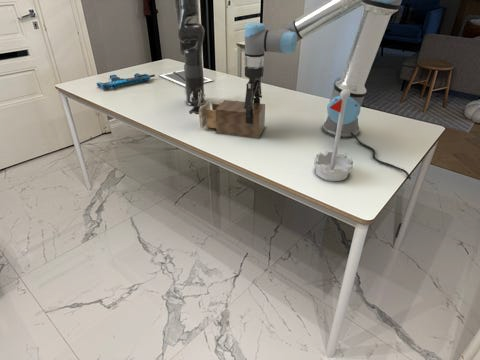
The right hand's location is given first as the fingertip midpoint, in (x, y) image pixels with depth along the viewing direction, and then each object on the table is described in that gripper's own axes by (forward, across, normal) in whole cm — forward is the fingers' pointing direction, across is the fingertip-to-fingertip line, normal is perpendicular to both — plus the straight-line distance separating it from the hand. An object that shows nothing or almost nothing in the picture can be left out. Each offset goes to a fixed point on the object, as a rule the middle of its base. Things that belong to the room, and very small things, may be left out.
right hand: (253, 117), depth 146 cm
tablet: (+7, -65, -61) cm, 89 cm away
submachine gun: (+7, -48, -94) cm, 106 cm away
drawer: (+6, 0, -17) cm, 18 cm away
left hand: (+1, 0, -26) cm, 26 cm away
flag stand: (+6, +26, +36) cm, 44 cm away
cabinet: (+7, 0, -5) cm, 8 cm away
